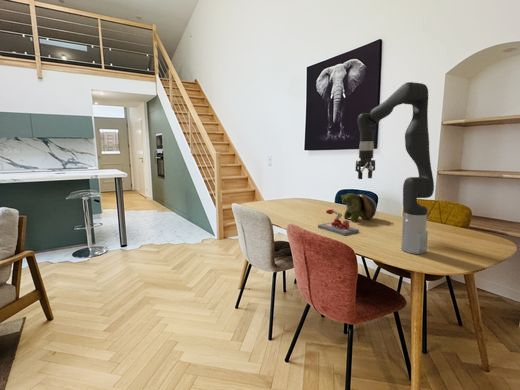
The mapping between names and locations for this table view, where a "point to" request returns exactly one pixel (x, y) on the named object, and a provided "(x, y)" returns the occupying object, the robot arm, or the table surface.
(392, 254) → the table surface
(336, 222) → the toy fire truck
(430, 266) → the table surface
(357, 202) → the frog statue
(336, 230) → the board
